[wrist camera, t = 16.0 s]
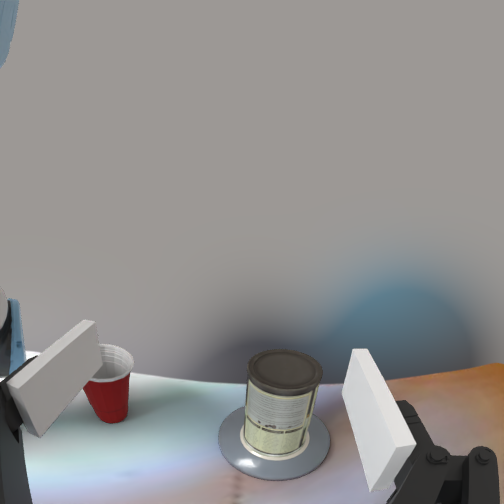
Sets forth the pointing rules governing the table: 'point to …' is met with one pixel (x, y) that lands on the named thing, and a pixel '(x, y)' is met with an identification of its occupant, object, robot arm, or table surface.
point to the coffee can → (279, 401)
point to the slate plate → (272, 466)
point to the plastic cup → (111, 384)
